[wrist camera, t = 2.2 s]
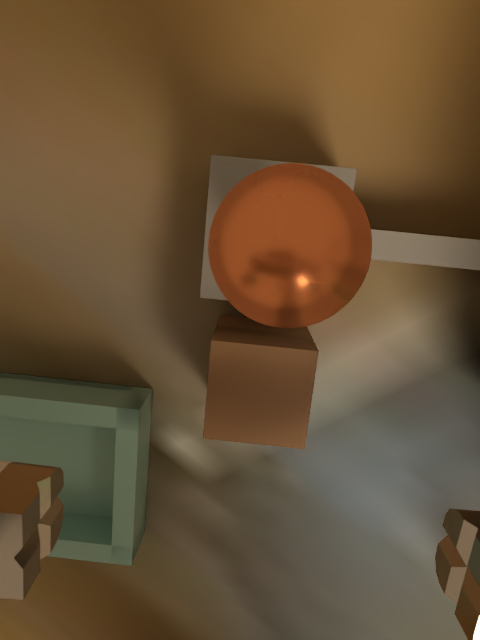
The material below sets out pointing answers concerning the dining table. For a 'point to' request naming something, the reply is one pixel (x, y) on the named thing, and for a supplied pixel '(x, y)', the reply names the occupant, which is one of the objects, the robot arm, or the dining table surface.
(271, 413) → the block
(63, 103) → the dining table surface
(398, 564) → the dining table surface
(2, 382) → the tray
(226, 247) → the pin
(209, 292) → the trolley
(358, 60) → the dining table surface
